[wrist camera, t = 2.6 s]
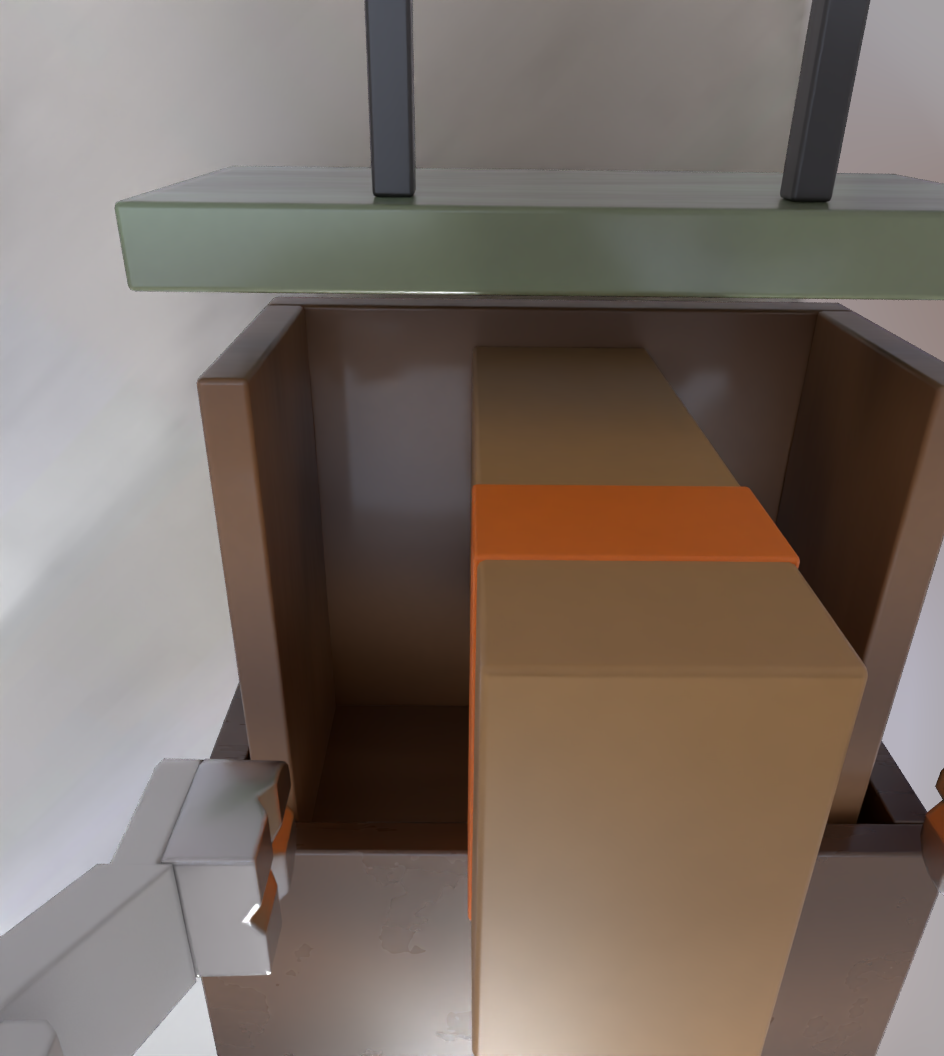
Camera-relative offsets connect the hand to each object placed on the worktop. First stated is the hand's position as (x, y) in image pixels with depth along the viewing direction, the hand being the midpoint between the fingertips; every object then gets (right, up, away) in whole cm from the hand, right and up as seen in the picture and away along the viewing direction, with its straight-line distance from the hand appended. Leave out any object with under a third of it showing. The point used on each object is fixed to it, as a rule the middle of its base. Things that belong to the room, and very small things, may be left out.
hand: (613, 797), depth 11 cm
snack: (0, +4, +8) cm, 9 cm away
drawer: (0, +7, +8) cm, 11 cm away
